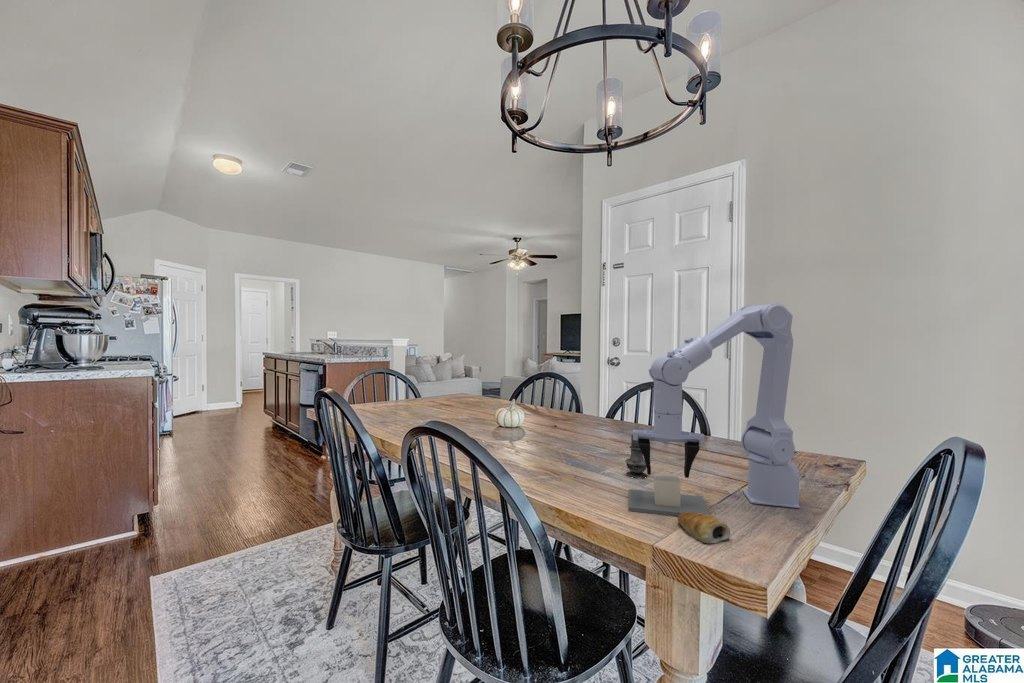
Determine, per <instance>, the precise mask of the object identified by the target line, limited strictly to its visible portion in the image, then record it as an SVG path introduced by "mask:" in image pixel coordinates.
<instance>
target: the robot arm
mask: <svg viewBox="0 0 1024 683" xmlns="http://www.w3.org/2000/svg"><path fill="white" fill-rule="evenodd" d="M793 316H794V315H793V314H792V313H791V312H790V311H789V310H788V309H787V308H786V306H785V305H784V304H782V303H778V302H772V303H770V304H759V305H744V306H742V307H740V308H739V309H738V310H736V311H733V312H732V313H731V315H730V316H729V317H727V318H726V319H725V320H723V321H722V322H720V324H718V325H717V326H716V327H714V328H712V330H710V331H709V332H708V333H707V334H705V335H704V336H702V337H699V336H692V337H691V336H690V337H686V338H685V339H684V341H683V342H684V343H682V344H681V345H680V346H678V347H677V348H675V349H674V350H673V349H670V350H668V352H667V355H666V356H660V357H658V358H656V359H654V361H653V362H652V364H651V365H650V366H651V367H650V368H649V369H648V373H649V377H650V378H651V380H652V381H653V429H632V435H633V440H638V445H639V447H640V449H641V451H642V454H643V459H644V460H645V463H646V467H647V468H646V473H647V474H646V475H647V476H648V475H649V476H651V473H652V470H651V468H652V467H651V442H652V441H653V442H667V443H683V445H684V466H683V467H684V468H683V475H684V478H686V479H689V478H690V472H691V469H692V466H693V463H694V461H695V458H697V455H698V453H699V452H700V449H701V448H700V445H701V446H705V443H706V442H705V439H706V438H705V436H706V435H705V434H704V433H699V432H698V433H697V432H690V431H689V432H688V431H683V383H685V382H686V381H687V379H688V377H689V374H690V373H691V372H692V371H694V370H695V369H697V368H699V366H701V365H702V364H704V363H706V362H707V361H708V360H710V359H712V356H713V350H714V349H717V348H718V347H720V346H721V345H723V344H724V343H726V342H728V341H729V340H732V339H733V338H734V337H736V336H738V335H740V334H741V333H744V334H745V335H747V336H750V337H751V338H752V339H754V340H756V341H757V342H758V344H760V345H761V346H762V348H763V352H762V353H763V354H762V360H761V368H760V369H761V370H760V376H759V377H760V378H759V386H758V392H757V400H756V401H757V402H756V409H755V415H754V416H752V417H751V418H749V419H748V420H747V421H746V427H745V429H744V431H743V433H742V435H741V438H740V439H741V440H740V444H741V446H742V448H743V449H744V450H745V452H746V457H748V463H747V464H748V466H747V469H748V472H747V476H748V477H747V488H746V489H745V488H744V489H742V492H743V494H744V495H745V497H746V498H747V500H748V501H749V502H750V504H757V505H765V506H774V507H784V508H785V507H786V508H793V509H795V508H796V509H800V508H801V505H800V503H799V502H800V497H799V496H800V475H799V474H800V473H799V469H798V467H797V465H796V463H794V462H792V461H791V460H792V458H793V457H794V455H795V451H796V450H795V449H796V448H795V444H794V440H793V436H794V435H793V434H794V430H792V428H791V427H790V426H789V425H788V423H787V422H786V421H785V420H784V419H785V414H786V413H785V412H786V405H787V404H786V402H787V396H788V388H789V382H790V373H791V372H790V371H791V365H792V364H791V363H792V355H793V349H794V338H793V334H792V324H793Z"/></svg>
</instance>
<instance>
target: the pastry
mask: <svg viewBox="0 0 1024 683" xmlns="http://www.w3.org/2000/svg"><path fill="white" fill-rule="evenodd" d="M677 521H678V523H679V525H680V526H681V527H682V528H683V530H684V529H685V533H686V532H687V533H686V534H688V533H689V534H688V535H690V536H691V535H692V537H693V538H694V537H695V538H696V539H695V538H694V539H695V540H697V539H698V540H697V541H699V540H700V541H699V542H701V541H702V542H701V543H703V542H704V543H703V544H705V543H707V545H709V544H708V543H715V544H717V543H720V542H723V541H725V540H728V539H729V538H730V536H731V529H730V528H729V526H728V524H727V523H726V522H725V521H721V520H719V519H718V518H715V516H713V515H707V514H705V515H704V514H702V513H688V512H684V513H681V514H679V516H677Z"/></svg>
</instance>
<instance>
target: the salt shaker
mask: <svg viewBox="0 0 1024 683" xmlns="http://www.w3.org/2000/svg"><path fill="white" fill-rule="evenodd" d="M630 436H631V437H630V438H631V439H630V442H631V443H630V446H629V448H630V457H629V458H627V459H625V460H624V461H625V463H626V467H627V469H628V470H629V471H628V472H626V473H627V475H628V476H629V478H631V477H633V478H632V479H636V478H643V479H646V478H648V474H646V473H645V471H647V467H646V463H645V459H644V456H643V454H642V451H641V449H640V447H639V445H638V440H633V434H632V435H630ZM627 475H626V476H627ZM628 476H627V477H628ZM645 477H646V478H645Z"/></svg>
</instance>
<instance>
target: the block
mask: <svg viewBox="0 0 1024 683" xmlns="http://www.w3.org/2000/svg"><path fill="white" fill-rule="evenodd" d="M653 474H654V477H653V480H654V481H653V492H654V499H655V504H659V505H668V506H677V507H680V494H681V487H682V486H681V481H680V476H679V475H673V474H672V475H671V474H662V473H653Z"/></svg>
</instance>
